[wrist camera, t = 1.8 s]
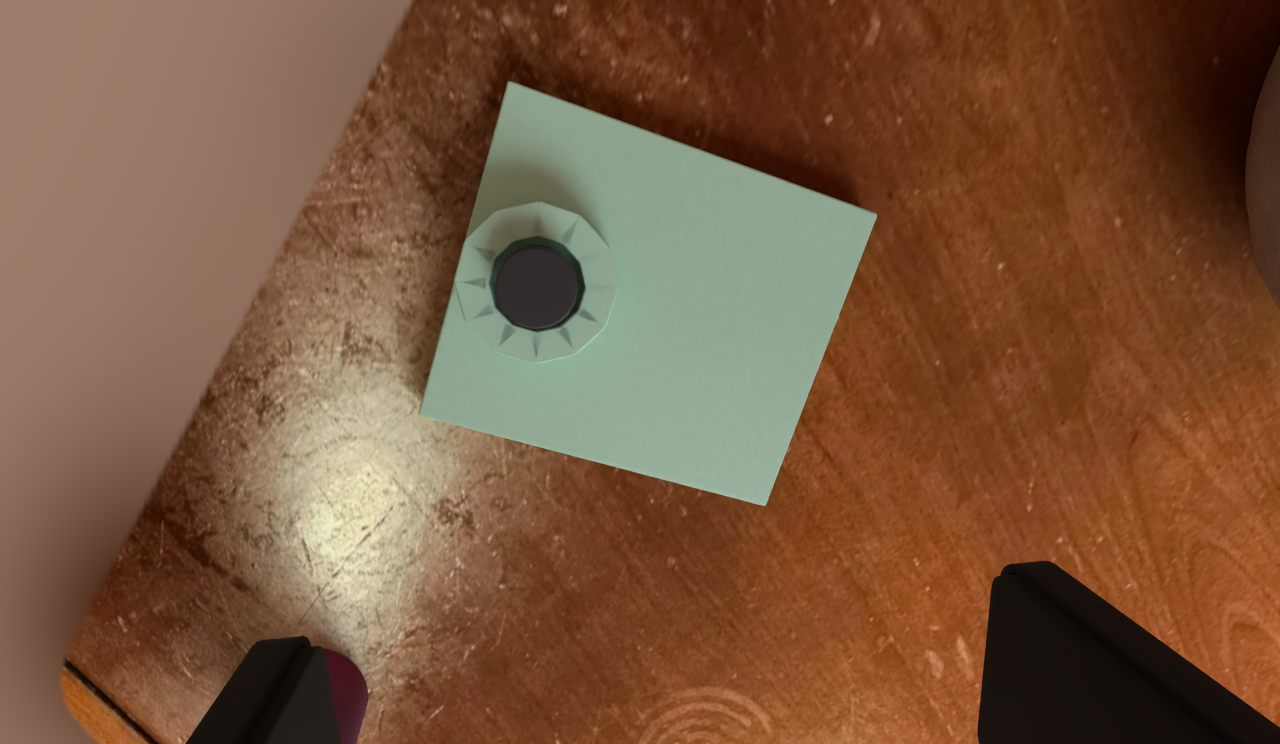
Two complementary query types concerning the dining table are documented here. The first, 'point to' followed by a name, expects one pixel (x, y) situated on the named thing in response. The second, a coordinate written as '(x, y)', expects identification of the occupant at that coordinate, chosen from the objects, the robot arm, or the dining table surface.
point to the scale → (644, 300)
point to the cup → (347, 695)
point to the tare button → (536, 286)
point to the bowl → (1266, 180)
